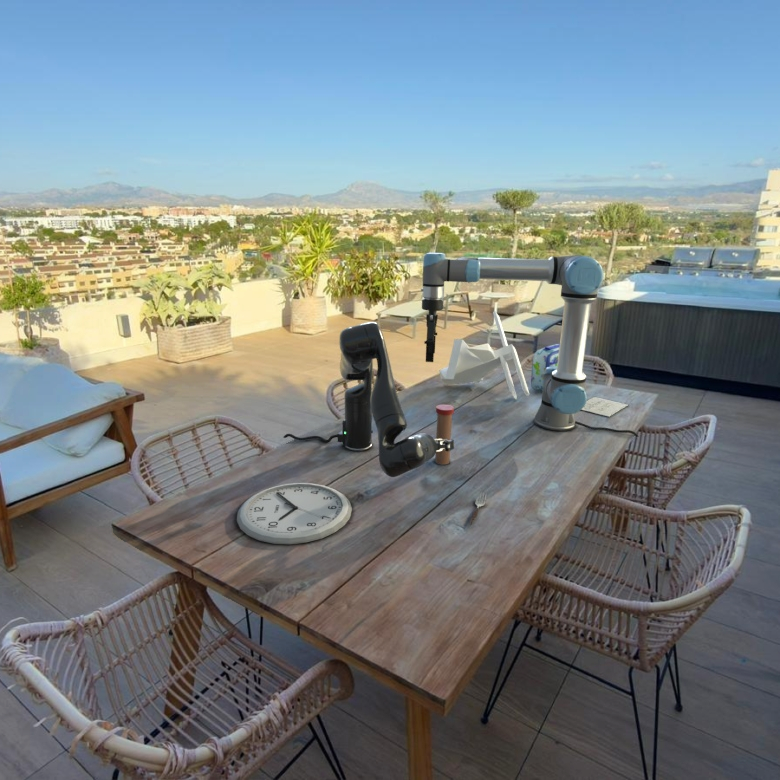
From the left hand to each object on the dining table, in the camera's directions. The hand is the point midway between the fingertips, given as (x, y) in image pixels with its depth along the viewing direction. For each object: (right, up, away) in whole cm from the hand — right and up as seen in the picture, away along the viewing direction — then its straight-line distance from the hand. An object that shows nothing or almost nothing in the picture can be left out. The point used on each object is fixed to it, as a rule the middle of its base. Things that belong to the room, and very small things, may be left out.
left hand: (432, 442), depth 150 cm
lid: (+5, +9, +15) cm, 19 cm away
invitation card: (+79, +8, +76) cm, 111 cm away
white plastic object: (+30, +14, +93) cm, 99 cm away
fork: (+11, -18, -9) cm, 23 cm away
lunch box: (+65, +16, +101) cm, 121 cm away
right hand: (+3, +27, +40) cm, 48 cm away
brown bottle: (+5, -8, +21) cm, 23 cm away
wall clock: (-37, -18, -11) cm, 43 cm away
